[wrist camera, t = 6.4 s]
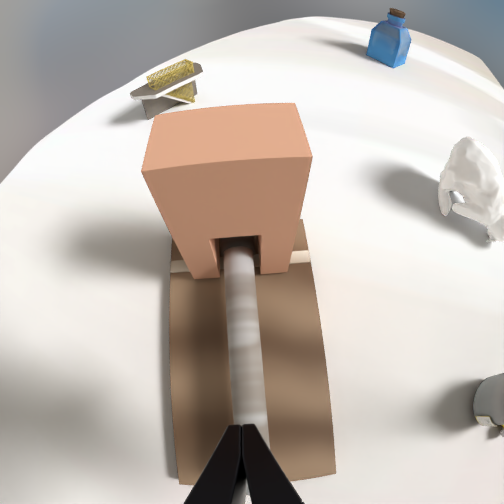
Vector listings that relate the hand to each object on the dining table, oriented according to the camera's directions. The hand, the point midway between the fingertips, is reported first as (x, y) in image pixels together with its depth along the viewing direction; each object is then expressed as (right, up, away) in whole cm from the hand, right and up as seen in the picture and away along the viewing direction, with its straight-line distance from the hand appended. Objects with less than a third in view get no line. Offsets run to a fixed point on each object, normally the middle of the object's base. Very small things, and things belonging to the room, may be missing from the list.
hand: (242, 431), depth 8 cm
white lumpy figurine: (+25, +10, +18) cm, 32 cm away
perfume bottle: (+27, +44, +36) cm, 63 cm away
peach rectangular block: (-1, +6, +15) cm, 16 cm away
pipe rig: (0, -1, +13) cm, 13 cm away
